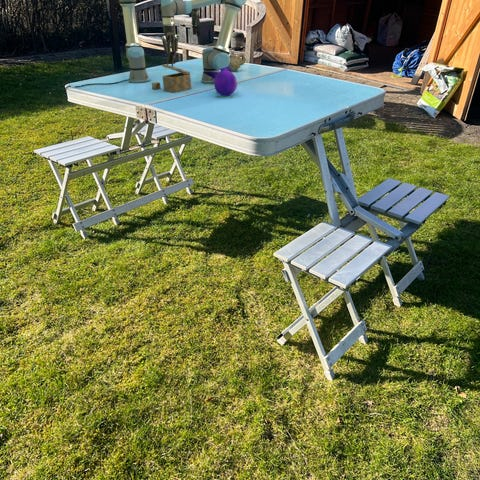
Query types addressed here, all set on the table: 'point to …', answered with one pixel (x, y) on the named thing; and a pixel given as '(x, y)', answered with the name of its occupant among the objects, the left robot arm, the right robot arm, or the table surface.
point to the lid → (174, 67)
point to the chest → (177, 82)
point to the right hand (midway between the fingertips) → (172, 63)
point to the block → (156, 85)
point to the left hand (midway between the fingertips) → (196, 35)
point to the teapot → (236, 61)
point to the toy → (224, 81)
